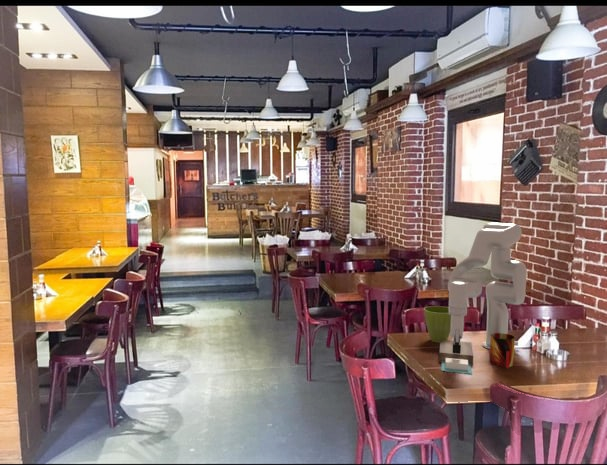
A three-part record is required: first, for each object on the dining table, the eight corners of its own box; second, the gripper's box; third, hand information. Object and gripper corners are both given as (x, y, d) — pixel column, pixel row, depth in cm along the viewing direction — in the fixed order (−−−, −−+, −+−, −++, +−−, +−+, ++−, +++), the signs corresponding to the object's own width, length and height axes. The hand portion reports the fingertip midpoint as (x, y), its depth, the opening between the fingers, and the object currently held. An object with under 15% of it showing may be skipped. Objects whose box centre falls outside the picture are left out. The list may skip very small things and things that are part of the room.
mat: (470, 364, 214) (470, 363, 214) (471, 374, 202) (471, 373, 202) (441, 362, 217) (441, 361, 217) (441, 371, 206) (441, 370, 205)
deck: (471, 350, 233) (471, 342, 233) (473, 364, 214) (473, 355, 214) (440, 348, 237) (440, 339, 237) (439, 361, 218) (439, 352, 217)
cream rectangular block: (468, 364, 206) (468, 370, 206) (467, 359, 211) (467, 365, 211) (445, 362, 208) (445, 368, 208) (445, 357, 214) (445, 363, 214)
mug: (507, 371, 206) (508, 343, 205) (484, 360, 219) (485, 334, 218) (525, 368, 209) (526, 341, 208) (502, 358, 222) (503, 332, 221)
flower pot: (439, 347, 238) (440, 314, 237) (416, 339, 251) (417, 308, 250) (460, 342, 247) (461, 310, 245) (437, 335, 259) (438, 304, 258)
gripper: (448, 306, 220) (447, 347, 221) (448, 314, 206) (447, 357, 207) (466, 307, 218) (465, 348, 219) (467, 315, 203) (466, 359, 205)
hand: (456, 352), depth 213 cm, fingers closed
